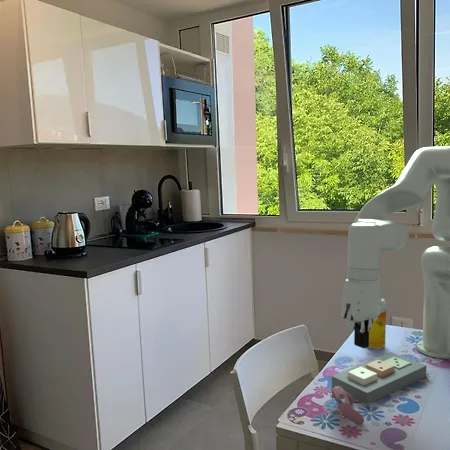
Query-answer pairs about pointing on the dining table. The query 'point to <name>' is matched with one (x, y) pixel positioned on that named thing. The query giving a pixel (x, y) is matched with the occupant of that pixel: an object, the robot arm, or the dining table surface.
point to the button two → (380, 368)
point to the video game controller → (346, 405)
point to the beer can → (378, 329)
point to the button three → (397, 363)
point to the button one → (362, 376)
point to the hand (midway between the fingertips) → (361, 345)
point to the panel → (380, 380)
